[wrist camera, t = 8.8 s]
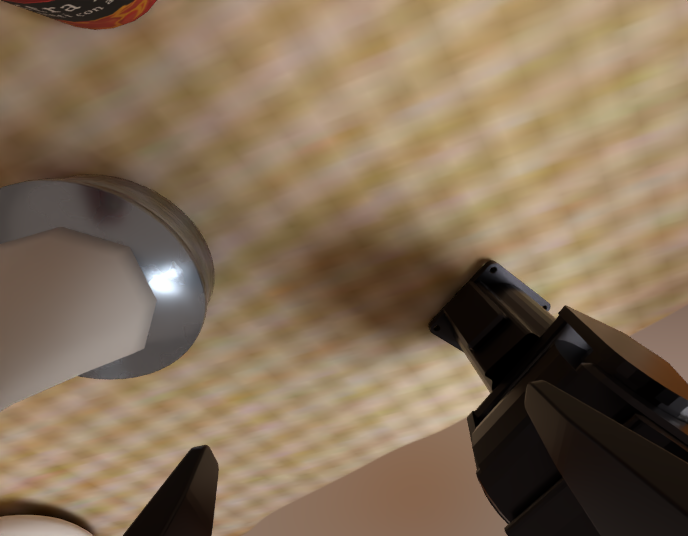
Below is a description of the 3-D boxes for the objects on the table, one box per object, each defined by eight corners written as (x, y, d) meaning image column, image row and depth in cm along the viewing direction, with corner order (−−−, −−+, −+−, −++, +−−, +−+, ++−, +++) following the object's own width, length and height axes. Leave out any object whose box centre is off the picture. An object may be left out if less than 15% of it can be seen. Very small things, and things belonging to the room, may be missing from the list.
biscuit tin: (254, 242, 20) (244, 267, 17) (172, 365, 23) (151, 405, 20) (48, 120, 16) (-15, 122, 13) (-13, 288, 19) (-75, 323, 16)
